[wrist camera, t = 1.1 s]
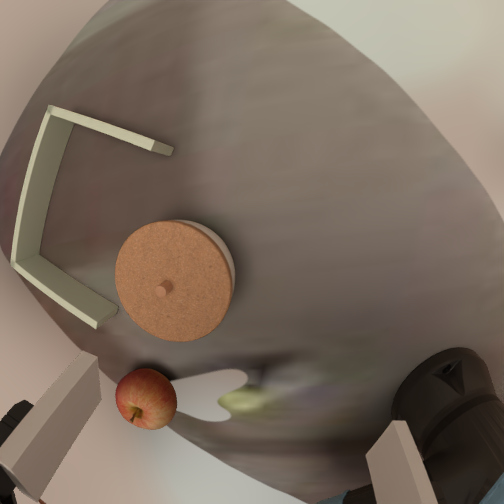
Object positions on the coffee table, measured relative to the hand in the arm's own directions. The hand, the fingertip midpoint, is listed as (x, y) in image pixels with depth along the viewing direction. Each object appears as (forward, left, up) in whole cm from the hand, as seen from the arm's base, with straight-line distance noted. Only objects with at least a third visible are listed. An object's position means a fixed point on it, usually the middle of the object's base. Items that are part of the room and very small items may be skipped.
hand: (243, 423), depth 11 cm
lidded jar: (+8, +2, -21) cm, 23 cm away
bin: (+23, +2, -21) cm, 31 cm away
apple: (+7, +20, -21) cm, 30 cm away
